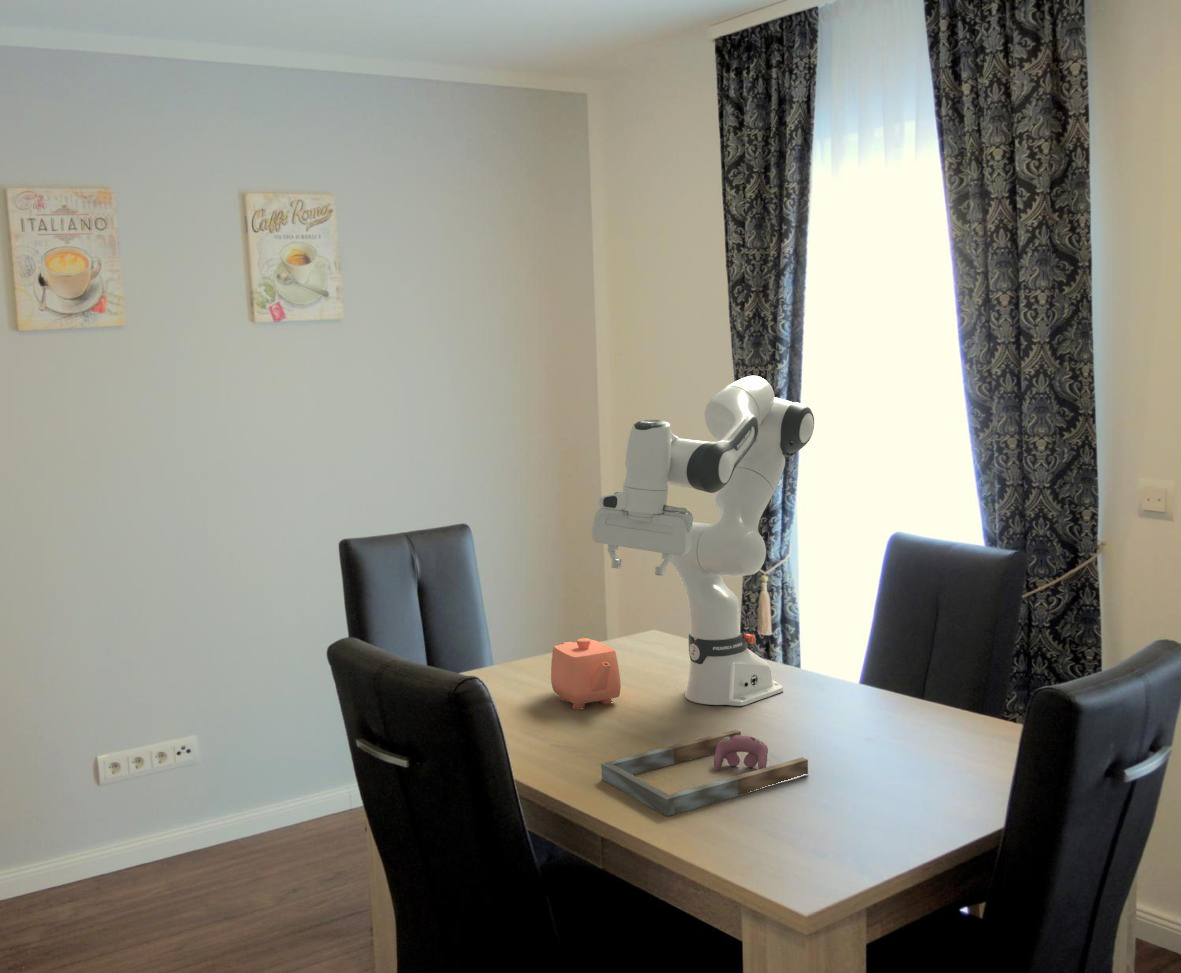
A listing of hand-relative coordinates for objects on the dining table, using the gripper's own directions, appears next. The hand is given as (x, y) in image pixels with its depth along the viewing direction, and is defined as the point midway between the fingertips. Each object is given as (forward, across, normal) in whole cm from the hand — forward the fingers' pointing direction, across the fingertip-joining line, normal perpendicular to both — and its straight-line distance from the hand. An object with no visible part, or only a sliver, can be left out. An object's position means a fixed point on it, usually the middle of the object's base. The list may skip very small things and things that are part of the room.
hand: (637, 571), depth 228 cm
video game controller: (+32, -27, +6) cm, 43 cm away
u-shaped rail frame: (+33, -22, +14) cm, 42 cm away
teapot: (+35, +18, -22) cm, 45 cm away
